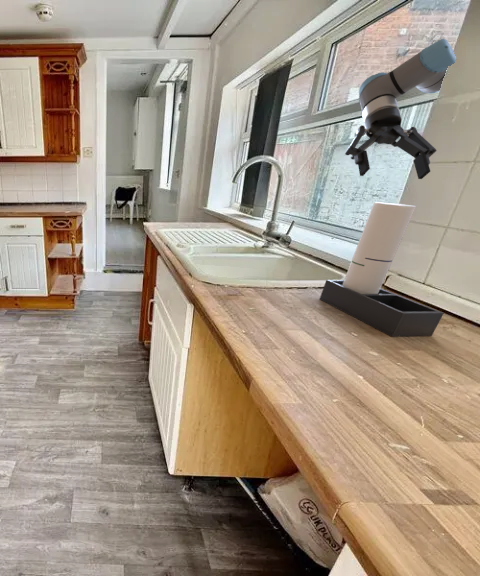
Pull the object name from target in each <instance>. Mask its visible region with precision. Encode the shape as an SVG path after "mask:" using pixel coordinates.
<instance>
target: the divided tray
mask: <svg viewBox="0 0 480 576" xmlns="http://www.w3.org/2000/svg"><path fill="white" fill-rule="evenodd" d="M343 282H344V279H326V280H325V283H324V285H323V288H322V291H321V294H320V296H319V300H320V301H322V302H324V303H326V304H328V305H330V306H332V307H334V308H335V309H337V310H339V311H341V312H343V313H345V314H347V315H349V316H351V317H353V318H355V319H357V320H359V321H360V322H362V323H365V324H366V325H368V326H370V327H372V328H374V329H375V330H377V331H380V332H382V333H383V334H386V335H387V336H389V337H391V338H395V337H396V338H399V337H400V338H402V337H432V336H433V334H434V332H435V331H436V329H437V327H438V325H439V323H440V322H441V319H442V317H443V316H444V314H445V313H444V312H442V311H440V310H437V309H435V308H432V307H431V306H428V305H424V304H422V303H420V302H417V301H414V300H412V299H409V298H407V297H404V296H402V295H399V294H396V293H394V292H391V291H389V290H386V289H384V288H382V287H381V288H380V290H379V293H378V294H360V293H358V292H356V291H353V290H351V289H349V288H346V287H344V286H342V285H343Z"/></svg>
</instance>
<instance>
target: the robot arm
mask: <svg viewBox="0 0 480 576" xmlns="http://www.w3.org/2000/svg"><path fill="white" fill-rule="evenodd" d="M453 51H454V49H453V47H452V45H451V44H450V43H449V41H448V40H447V39H445V38H440V39H438V40H437V41H435V42H433V43H431V44H430V45H428V46H427V47H424V48H423V49H422V50H421V51H419V52H418V53H416V54H415V55H413V56H412V57H410V58H409V59H407V60H406V61H404V62H403V63H402V64H400V65H398V66H397V67H396V68H394V69H393V70H391V71H389V72H388V73H387V72H377V73H375V74H372V75H370V76H368V77H367V78H365V79H364V81H363V82H362V83H361V85H360V86H359V89H358V102H359V104H360V109H361V114H362V118H363V125H360V126H359V127H358V128H357V130H356V131H355V132H354V138H353V140H352V141H351V143H350V144H349V146H348V148H347V149H346V150H345V152H344V155H345V156H350V155H351V157H350V160H354V164H355V165H357V167H358V172H359V176H360V177H364V176H365V174H367V173H368V172H369V170H370V169H371V167H370V161H369V155H368V151H367V149H368V148H369V147H371V146H372V145H373V144H375V143H376V144H377V145H391V146H392V147H394V148H399V149H401V150H402V151H403V152H405V153H406V154H408V155H410V156H411V157H413V158H414V159H413V164H414V168H415V171H416V176H417V179H418V180H422V179H424V178H425V177H427V175H428V174H429V173H431V168H430V164H431V161H430V157H432V156H433V155H434V154H435V153H436V152H437V149H436V148H435V146H433V145H432V144H431V143H430V142H429V141H427V139H426V138H424V136H423V135H421V134H420V133H419V132H418V129H417V128H416V126H410V128H409V129H404V128H403V127H402V116H401V112H400V108H399V104H398V100H397V99H398V98H399V97H401V96H402V95H404V94H406V93H408V92H410V91H411V90H413V89H414V88H415V89H418V91H419V92H421V93H423V94H437V93H440V92H439V90H440V88H441V84H442V81H443V78H444V76H445V73H446V70H447V68H448V66H451V65H452V64H454V63H455V61H456V60H457V56H455V55H456V53H455V51H454V52H453ZM454 53H455V54H454ZM365 135H366V137H367V138H368V139H367V140H366V141H365V142H363V143H362V144H361V145H359V147H357V145H358V144H359V143H360V140H361V139H362V138H363V137H364V136H365Z"/></svg>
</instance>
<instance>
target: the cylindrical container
mask: <svg viewBox="0 0 480 576" xmlns="http://www.w3.org/2000/svg"><path fill="white" fill-rule="evenodd" d="M416 208H417V205H412V204H404V203H394V202H381V201H374V202H373V204H372V207H371V209H370V212H369V215H368V217H367V220H366V223H365V226H364V227H363V230H362V233H361V235H360V238H359V240H358V243H357V246H356V248H355V251H354V254H353V256H352V258H351V261H350V264H349V267H348V269H347V272H346V274H345V277H344V279H343V280H344V282H343V285H342V286H344V287H346V288H349V289H351V290H353V291H356V292H358V293H360V294H378V293H379V290H380V288H381V289H382V286H383V283H384V281H385V279H386V277H387V274H388V272H389V270H390V267H391V265H392V263H393V260H394V259H395V256H396V253H397V251H398V249H399V247H400V245H401V242H402V240H403V238H404V235H405V233H406V231H407V229H408V226H409V224H410V221H411V219H412V217H413V215H414V212H415V210H416Z"/></svg>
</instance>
